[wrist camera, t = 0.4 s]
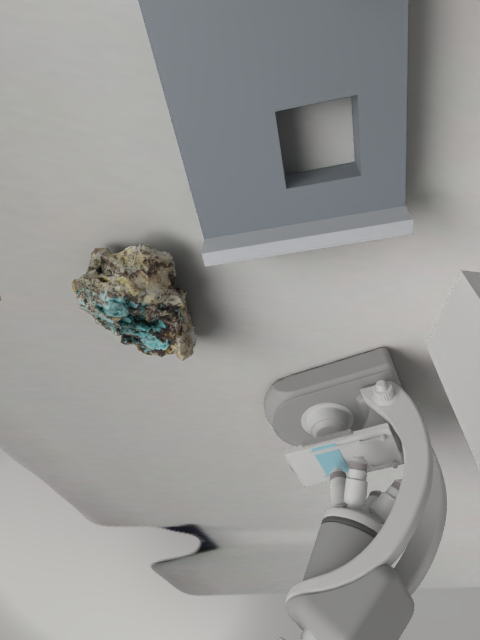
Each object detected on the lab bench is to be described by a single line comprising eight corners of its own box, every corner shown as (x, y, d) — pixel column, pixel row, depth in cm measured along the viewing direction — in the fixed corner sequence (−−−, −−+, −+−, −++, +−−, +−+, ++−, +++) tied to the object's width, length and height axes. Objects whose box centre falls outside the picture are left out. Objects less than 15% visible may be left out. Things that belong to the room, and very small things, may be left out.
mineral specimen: (70, 253, 42) (54, 329, 37) (154, 221, 38) (147, 299, 34) (149, 317, 51) (143, 383, 47) (222, 295, 48) (222, 364, 44)
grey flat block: (113, -133, 27) (84, -153, 22) (397, -219, 24) (426, -260, 20) (211, 235, 41) (204, 266, 36) (396, 204, 38) (413, 234, 34)
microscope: (229, 386, 52) (202, 734, 29) (393, 335, 47) (527, 712, 23) (268, 442, 58) (271, 769, 34) (417, 402, 53) (544, 759, 29)
